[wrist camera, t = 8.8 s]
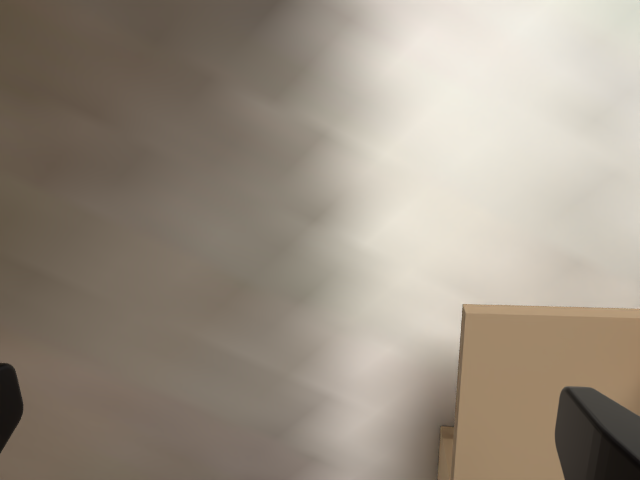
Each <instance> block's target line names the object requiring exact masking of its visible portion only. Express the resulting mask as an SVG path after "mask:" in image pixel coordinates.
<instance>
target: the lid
mask: <svg viewBox="0 0 640 480" xmlns="http://www.w3.org/2000/svg"><path fill="white" fill-rule="evenodd" d="M566 386H578V387H591V388H594V389H595V390H597V391H599V392H600V393H602V394H604V395H605V396H607V397H609V398H610V399H612V400H614V401H615V402H617V403H619V404H620V405H622V406H624V407H625V408H627V409H628V410H630V411H632V412H633V413H635V414H637V415H638V416H640V309H625V308H587V307H549V306H511V305H474V304H463V308H462V322H461V336H460V350H459V365H458V379H457V393H456V408H455V422H454V436H453V450H452V465H451V479H450V480H565V479H564V475H563V471H562V468H561V464H560V460H559V457H558V453H557V450H556V445H555V425H556V418H557V411H558V404H559V397H560V393H561V391H562V389H563V388H564V387H566Z"/></svg>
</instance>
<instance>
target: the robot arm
mask: <svg viewBox="0 0 640 480" xmlns="http://www.w3.org/2000/svg"><path fill="white" fill-rule="evenodd" d="M22 414H23V401H22V396H21V392H20V388H19V383H18V379H17V375H16V371H15V369H14V368H13V366H12V365H10V364H7V363H0V453H1V451H2V450H3V448H4V446H5V445H6V443H7V441H8V440H9V438H10V436H11V435H12V433H13V431H14V430H15V428H16V426H17V425H18V423H19V421H20V419H21V417H22ZM555 445H556V450H557V453H558V457H559V460H560V464H561V468H562V471H563V475H564V479H565V480H640V416H638V415H637V414H635V413H633V412H632V411H630V410H628V409H627V408H625V407H624V406H622V405H620V404H619V403H617V402H615V401H614V400H612V399H610V398H609V397H607V396H605V395H604V394H602V393H600V392H599V391H597V390H595V389H594V388H591V387H578V386H566V387H564V388H563V389H562V391H561V393H560V397H559V404H558V411H557V418H556V425H555Z"/></svg>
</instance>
